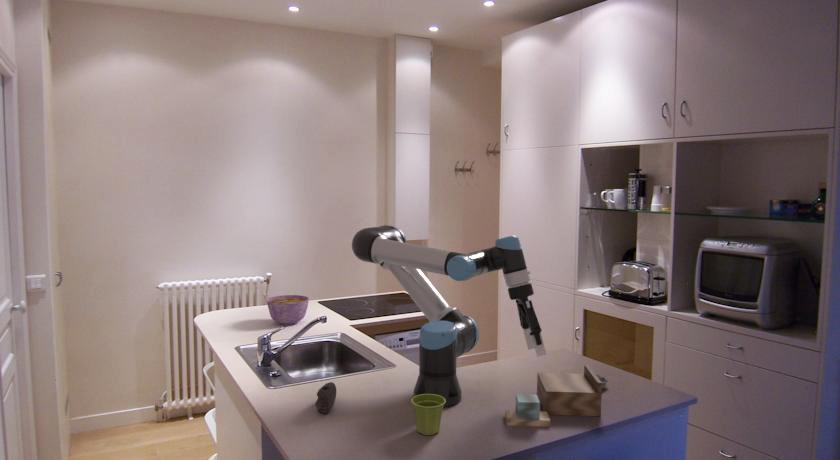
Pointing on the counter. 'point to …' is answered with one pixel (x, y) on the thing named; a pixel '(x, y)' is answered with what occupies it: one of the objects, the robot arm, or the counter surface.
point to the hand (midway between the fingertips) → (537, 352)
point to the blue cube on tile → (527, 412)
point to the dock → (570, 393)
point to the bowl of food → (287, 308)
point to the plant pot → (428, 412)
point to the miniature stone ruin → (602, 381)
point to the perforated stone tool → (326, 397)
